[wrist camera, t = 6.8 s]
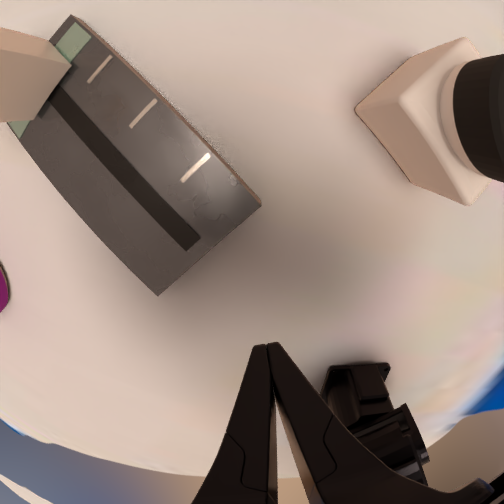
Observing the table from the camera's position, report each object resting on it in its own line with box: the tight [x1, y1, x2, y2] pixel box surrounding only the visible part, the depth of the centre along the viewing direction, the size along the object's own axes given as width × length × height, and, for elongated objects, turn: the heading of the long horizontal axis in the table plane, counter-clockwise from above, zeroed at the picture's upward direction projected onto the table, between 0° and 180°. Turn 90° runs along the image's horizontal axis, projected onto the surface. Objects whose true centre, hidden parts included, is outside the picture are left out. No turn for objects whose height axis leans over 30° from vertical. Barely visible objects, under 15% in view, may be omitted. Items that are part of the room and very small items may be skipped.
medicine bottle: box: [355, 37, 504, 206], centre depth 11 cm, size 7×7×12 cm
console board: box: [7, 15, 261, 296], centre depth 17 cm, size 21×10×2 cm, turn 41°
